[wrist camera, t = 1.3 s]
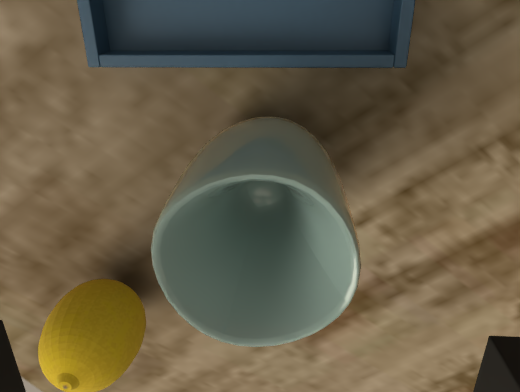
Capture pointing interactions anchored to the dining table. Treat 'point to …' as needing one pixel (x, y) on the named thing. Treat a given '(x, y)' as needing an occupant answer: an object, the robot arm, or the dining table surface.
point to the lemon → (92, 336)
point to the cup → (258, 237)
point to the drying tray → (247, 33)
